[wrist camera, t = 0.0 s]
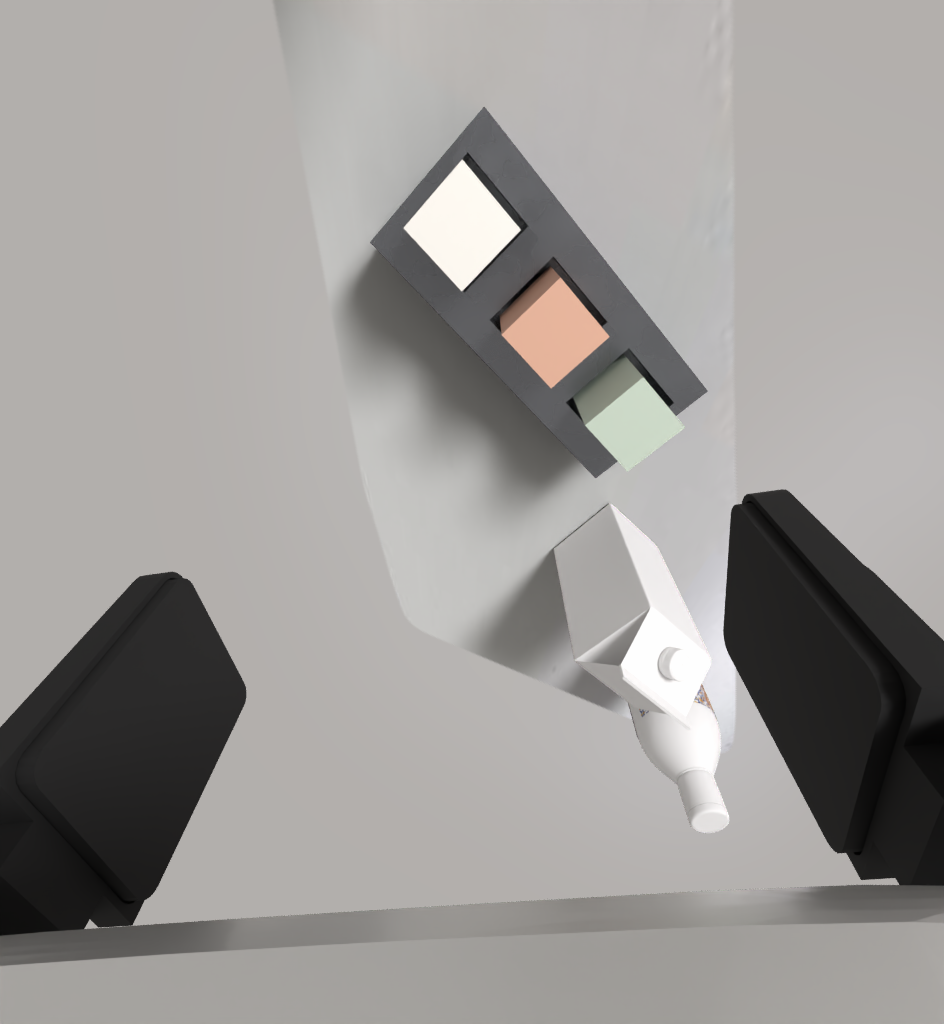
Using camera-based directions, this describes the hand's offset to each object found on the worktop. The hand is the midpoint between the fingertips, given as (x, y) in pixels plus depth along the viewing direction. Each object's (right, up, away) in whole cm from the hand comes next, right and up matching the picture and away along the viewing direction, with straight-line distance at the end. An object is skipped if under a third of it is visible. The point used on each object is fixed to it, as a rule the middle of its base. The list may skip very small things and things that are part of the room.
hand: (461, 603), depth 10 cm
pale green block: (+11, +10, +32) cm, 35 cm away
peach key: (+5, +15, +29) cm, 33 cm away
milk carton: (+13, -2, +44) cm, 46 cm away
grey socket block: (+5, +17, +33) cm, 38 cm away
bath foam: (+18, -12, +49) cm, 54 cm away
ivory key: (0, +20, +26) cm, 33 cm away
